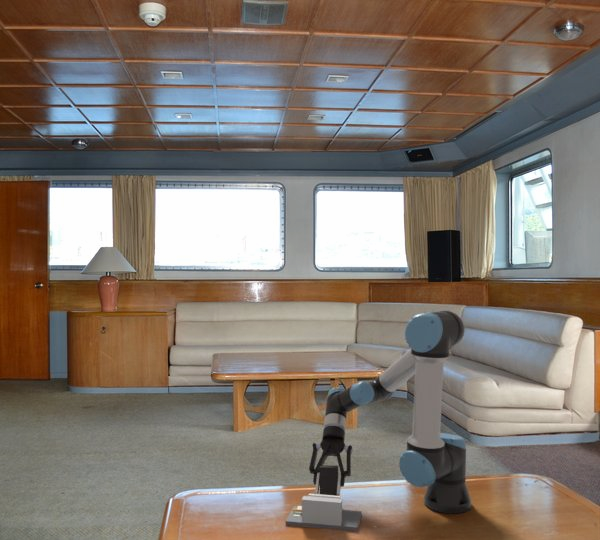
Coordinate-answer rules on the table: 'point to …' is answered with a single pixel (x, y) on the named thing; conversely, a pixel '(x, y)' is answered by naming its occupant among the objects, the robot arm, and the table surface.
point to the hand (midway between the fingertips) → (327, 494)
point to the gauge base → (346, 518)
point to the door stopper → (328, 480)
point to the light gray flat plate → (319, 496)
